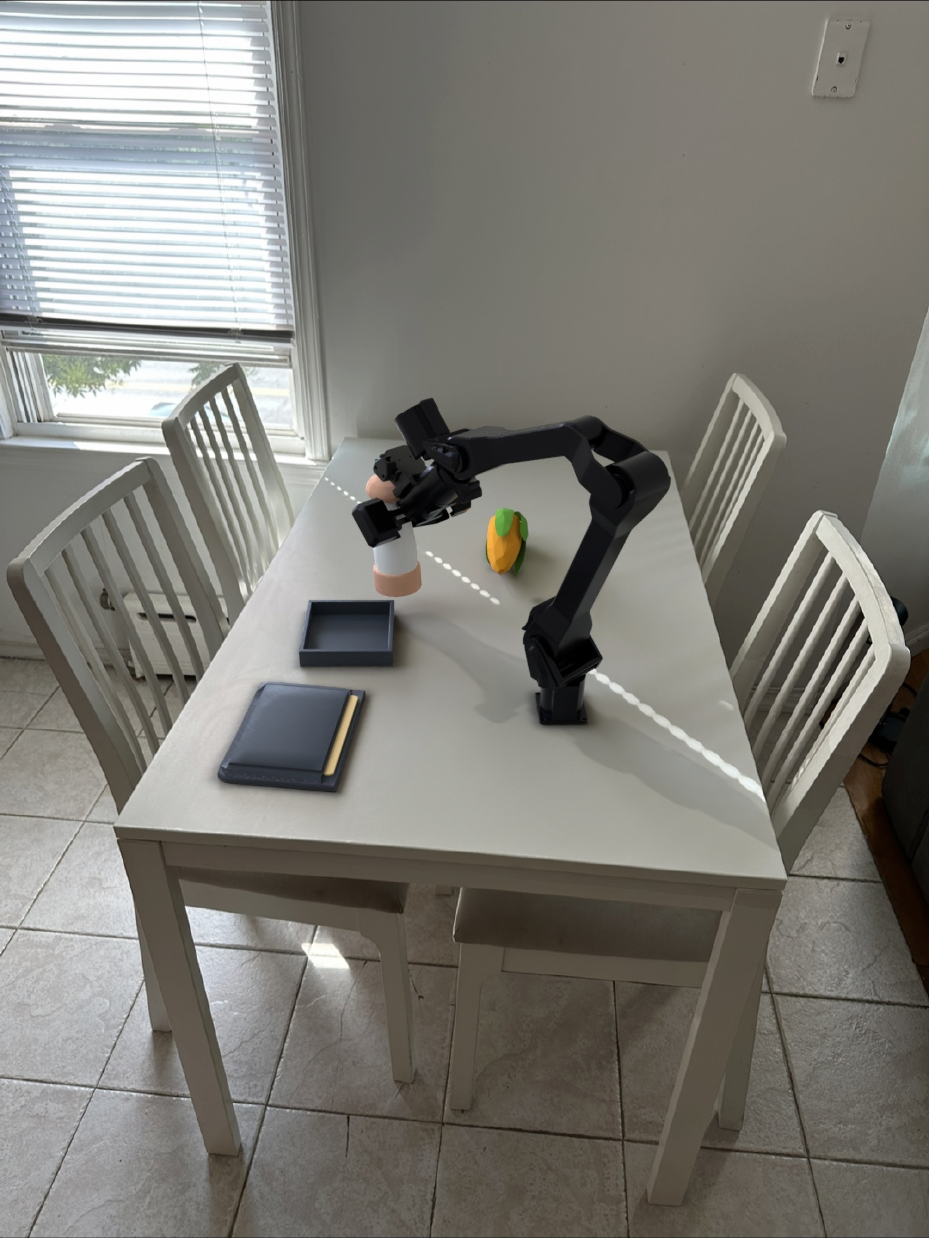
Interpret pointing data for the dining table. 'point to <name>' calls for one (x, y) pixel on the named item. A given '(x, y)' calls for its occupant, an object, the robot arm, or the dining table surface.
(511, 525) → the corn
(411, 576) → the pepper shaker
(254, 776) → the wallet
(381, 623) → the tray
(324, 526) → the dining table surface
